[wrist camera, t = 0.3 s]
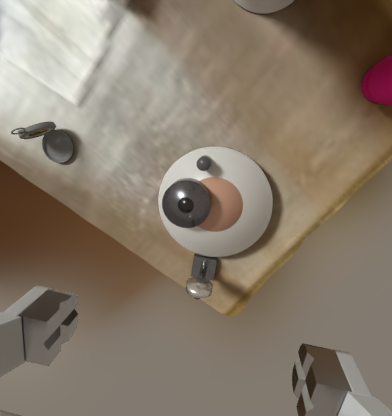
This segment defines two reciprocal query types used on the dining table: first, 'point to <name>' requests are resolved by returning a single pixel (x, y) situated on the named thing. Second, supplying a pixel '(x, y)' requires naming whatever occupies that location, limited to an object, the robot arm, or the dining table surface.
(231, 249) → the turntable
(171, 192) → the cover
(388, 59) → the pepper mill
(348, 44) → the dining table surface
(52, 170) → the dining table surface
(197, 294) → the dial gauge stand
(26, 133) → the pocket watch
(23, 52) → the dining table surface
